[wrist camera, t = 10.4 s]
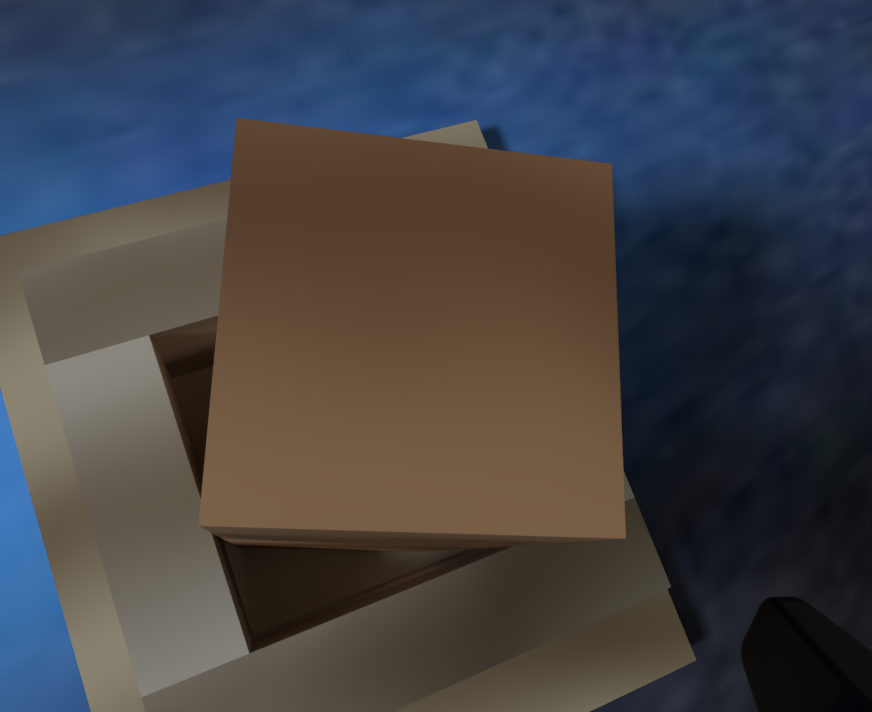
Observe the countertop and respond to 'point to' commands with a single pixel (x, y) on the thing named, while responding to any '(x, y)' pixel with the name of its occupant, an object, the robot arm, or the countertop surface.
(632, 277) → the countertop surface
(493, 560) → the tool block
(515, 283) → the wooden peg
